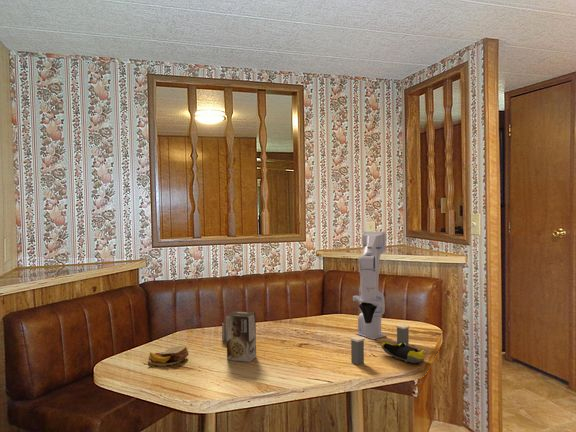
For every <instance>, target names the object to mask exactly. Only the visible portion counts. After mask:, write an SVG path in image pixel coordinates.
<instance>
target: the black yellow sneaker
mask: <svg viewBox="0 0 576 432" xmlns="http://www.w3.org/2000/svg"><path fill="white" fill-rule="evenodd" d="M381 349H382V350H383V351H384V352H385V353H386V354H388V355H389V356H391V357H394V358H395V359H396V360H399V361H400V360H401V361H402V360H403V361H404V362H405V363H410V364H421V363H422V362H424V360H425V350H424V349H422V348H421V349H418V348H416V347H412V346H410V345H409V346H406V344H405V343H401V344H399V345H397V344H394V343H391V342H388V341H383V342H382V343H381Z"/></svg>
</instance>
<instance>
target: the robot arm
mask: <svg viewBox="0 0 576 432" xmlns="http://www.w3.org/2000/svg"><path fill="white" fill-rule="evenodd" d="M386 242H387V235H386V232H385V231H363V232H362V233H361V245H362V253H361V256H360V257H359V258H358V269H359V271H358V272H359V276H360V281H359V282H360V295H353V296H352V302H358V303H359V304H358V307H359V311H360V313H359V314H358V317H357V332H356V335H357V336H358V335H359V336H360V337H361V336H362V337H363V338H367V339H371V340H375V339H379V338H382V337H383V338H384V337H386V335H387V334H385V333H382V315H384V314H385V307H386V304H385V302H386V301H385V296H384V294H383V293H382V292H381V291H379V276H380V275H379V274H380V260H381V259H380V258H381V255H382V254H384V253H385V252H386V247H387V246H386V244H387V243H386Z"/></svg>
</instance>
